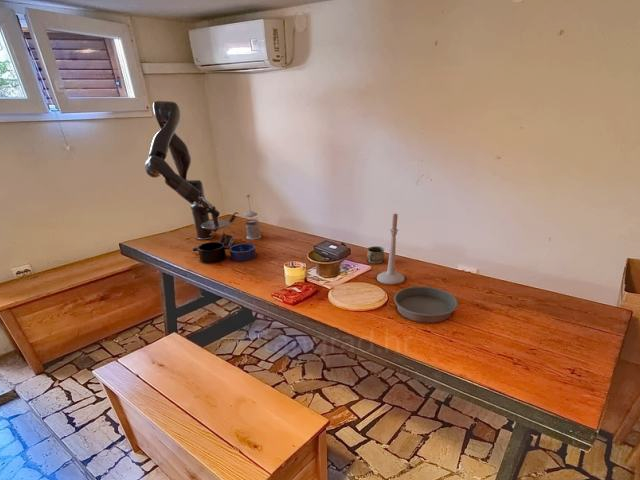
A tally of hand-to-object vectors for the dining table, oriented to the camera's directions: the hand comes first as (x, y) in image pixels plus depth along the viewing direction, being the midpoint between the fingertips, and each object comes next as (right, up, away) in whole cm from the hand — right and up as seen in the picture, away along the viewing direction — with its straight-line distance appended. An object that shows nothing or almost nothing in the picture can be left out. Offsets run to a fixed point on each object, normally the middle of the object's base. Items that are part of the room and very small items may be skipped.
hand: (218, 215), depth 186 cm
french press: (+10, +1, +41) cm, 42 cm away
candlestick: (+86, -35, -14) cm, 94 cm away
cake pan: (+95, -52, -40) cm, 115 cm away
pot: (-6, -20, +12) cm, 24 cm away
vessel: (+81, -23, +4) cm, 84 cm away
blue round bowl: (+10, -18, +14) cm, 24 cm away
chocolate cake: (-4, -8, +30) cm, 31 cm away
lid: (-2, -4, +2) cm, 5 cm away
